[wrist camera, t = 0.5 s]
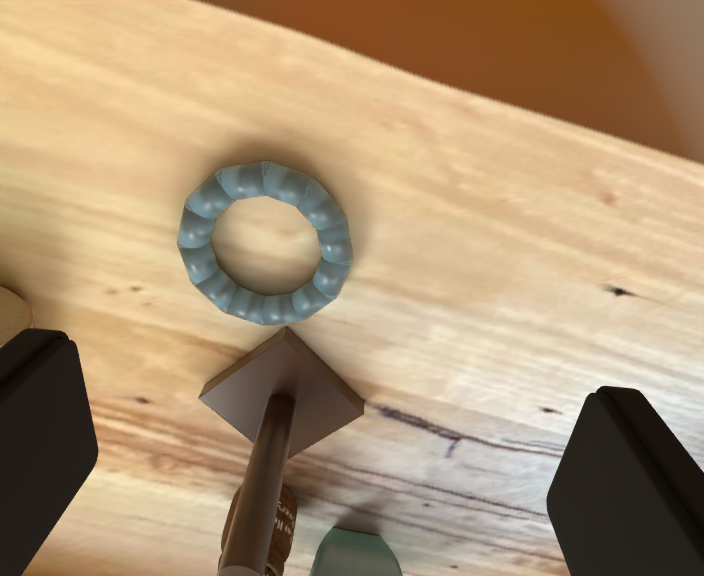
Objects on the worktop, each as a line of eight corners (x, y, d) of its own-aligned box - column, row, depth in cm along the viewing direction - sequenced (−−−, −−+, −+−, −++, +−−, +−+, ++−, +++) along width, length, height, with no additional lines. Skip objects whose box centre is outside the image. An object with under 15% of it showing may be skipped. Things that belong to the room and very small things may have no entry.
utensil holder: (278, 528, 45) (251, 678, 35) (220, 502, 44) (172, 651, 33) (310, 495, 43) (291, 645, 32) (249, 466, 41) (208, 614, 31)
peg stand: (204, 385, 37) (116, 568, 24) (286, 325, 34) (237, 497, 21) (282, 450, 40) (241, 643, 27) (364, 401, 37) (361, 590, 25)
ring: (151, 231, 31) (138, 242, 29) (270, 120, 28) (263, 126, 26) (267, 339, 35) (262, 356, 33) (385, 255, 31) (386, 268, 30)
